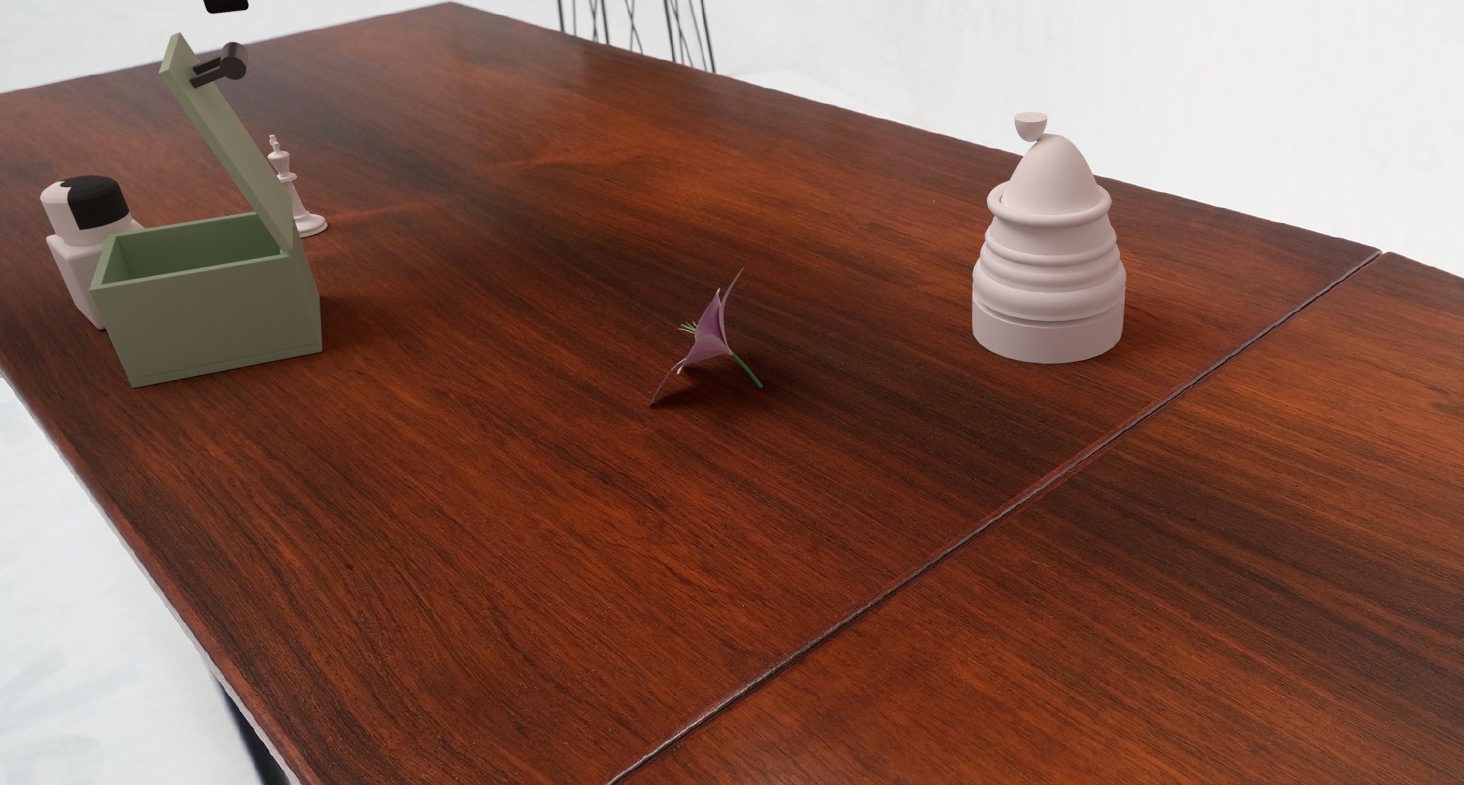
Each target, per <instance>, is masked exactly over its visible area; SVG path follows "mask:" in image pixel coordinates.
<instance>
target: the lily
mask: <svg viewBox="0 0 1464 785" xmlns="http://www.w3.org/2000/svg"><path fill="white" fill-rule="evenodd" d="M745 267H746V266H745V265H744V266H742V269H740V271H739V272H738V273H737V275H736V276H735V278H733V280H732V282H731V284H730V285H729V287H727V290H726V291H725V294H724V296H723V297H722V300H720V295H719V294H720V290H721V288H720V287H719V288H718V289H717V290H716V293H715V295H714V297H713V298H712V300H711V302H709V304H708V305H707V307H706V309H705V310H704V312H703V314H702V315H701V317H700V318H699V320H698V323H697V325H696V321H694V320H691V322H692V323H693V325H694V326H695V327H696V328H694V327H693V326H692V325H691V324H689V323H688V322H687V321H686V320H685V324H686V325H685V324H683V323H681V324H680V326H681V327H683V328H677V329H676V330H678V331H685V332H688V333H690V334H691V333H692V334H694V341H695V342H694V344H693V345H692V347H691V348H690V350H689V352H688V354H687V355H686V357H684V359H681V361H679V362H677V364H675V366H673V367H672V368H671V370H670V371H669V372H668V373H667V374H666V375H665V376H664V378H663V380H662V381H661V383H660V385H659V386H658V388H657V389H656V391H655V393H654V394H653V397H652V398H651V401H650V402H649V404H648V406H649V407H650V406H651V405H652V402H653V401H654V399H655V398H656V395H657V394H658V393H659V391H660V390H661V389H662V387H663V385H664V383H665V382H666V380H667V379H668V378H669V377H670V376H671V374H672V373H673V372H674V371H675V370H676V369H677V368H679V369H678V370H677V371H676V374H677V375H679V374H680V373H681V371H682V369H683V367H685V366H686V365H689V364H692V363H693V364H694V363H696V362H699V361H702V360H706V359H711V358H713V357H717V356H721V355H728V356H730V357H731V358H732V359H733V360H735V361H736V363H738V364H739V365H740V367H741V368H743V369H744V371H745V372H746V373H747V374H748V375H749V377H750V378H751V379H752V380H753V381H754V383H755V384H756V385H757V386H758V388H759V389H762V388H763V387H764V386H763V384H762V383H761V382H760V380H759V379H758V378H757V377H756V375H755V374H754V373H753V371H751V369H750V368H749V367H748V366H747V365H746V364H745V363H744V361H742V359H740V358H739V357H738V356H737V355H736V354H735V353H734V352H733V351H732V350H731V349H730V347H729V346H728V341H727V337H726V331H725V322H724V314H725V306H726V303H727V302H726V301H727V299H728V297H729V294H730V292H731V290H732V289H733V287H734V285H735V283H736V282H737V279H738V278H739V276H740V275H741V273H742V272H743V270H744V268H745ZM687 325H688V326H687ZM684 328H686V329H684ZM679 366H680V367H679Z"/></svg>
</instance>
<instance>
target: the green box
mask: <svg viewBox="0 0 1464 785" xmlns="http://www.w3.org/2000/svg"><path fill="white" fill-rule="evenodd" d="M292 224H293V249H291V250H289V251H287V252H283V251H282V250H281V248H280V247H279V245H278V244H277V242H276V241H275V240H274V238H273V237H272V235H271V234H270V232H269V231H268V230H267V228H266V227H265V225H264V224H263V222H262V221H261V220H260V218H259V217H258V215H257V214H256V212H255V211H249V212H244V213H243V212H242V213H237V214H230V215H223V216H219V217H218V216H217V217H210V218H205V219H199V220H193V221H191V220H190V221H185V222H179V223H174V224H173V223H172V224H167V225H161V226H160V225H159V226H153V227H148V228H145V229H140V230H134V231H128V232H121V233H115V234H108V235H107V237H106V240H105V243H104V246H103V249H102V252H101V255H100V258H99V261H98V264H97V267H96V271H95V274H94V277H93V280H92V283H91V286H90V288H89V292H90V294H91V297H92V299H93V301H94V303H95V306H96V308H97V310H98V312H99V315H100V317H101V319H102V321H103V323H104V326H105V328H106V329H105V330H106V332H107V335H108V337H109V339H110V341H111V343H112V346H113V348H114V350H115V353H116V355H117V357H118V360H119V362H120V364H121V366H122V368H123V370H124V373H125V375H126V377H127V379H128V382H129V384H130V386H131V388H132V389H136V388H142V387H147V386H152V385H156V384H162V383H166V382H171V381H172V382H173V381H177V380H181V379H187V378H192V377H193V378H194V377H198V376H204V375H208V374H213V373H219V372H224V371H229V370H234V369H235V370H236V369H239V368H246V367H249V366H254V365H260V364H265V363H271V362H275V361H281V360H285V359H290V358H295V357H296V358H297V357H301V356H306V355H311V354H316V353H321V352H323V338H322V337H323V336H322V319H321V318H322V317H321V300H320V298H321V297H320V293H319V290H318V287H317V283H316V281H315V277H314V275H313V271H312V268H311V266H310V263H309V259H308V256H307V253H306V250H305V247H304V245H303V241H302V238H300V235H299V232H298V229H297V226H296V223H295V220H294V217H293V214H292Z"/></svg>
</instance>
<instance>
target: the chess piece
mask: <svg viewBox="0 0 1464 785" xmlns="http://www.w3.org/2000/svg"><path fill="white" fill-rule="evenodd" d="M268 136H269V137H268V138H269V141H268V142H269V145H270V146H271V147H272V149H273V151H272V152H271V153H269V154H268V155H267V159H268V161H269V162H270V164H271V165H272V166H273V168H274V169H275V170H276V171H277V173H278V174H276V175H277V177H278V178H279V180H280V181H281V183H282V184H283V186H284V187H285V189H286V190H287V192H288V193H289V195H290V196H291V198H292V214H293V217H294V220H295V223H296V226H297V229H298V232H299V235H300V238H301V239H302V238H308V237H310V236H314V235H317V234H320V233H322V232H323V231H325V230H326V229H327V228H328V223H327V222H326V218H325V217H324V216H322V215H319V214H315V213H310V211H309V210H306V208H305V207H304V204H303V202H302V200H301V198H300V196H299V194H298V191H297V189H296V188H295V187H296V186H295V185H294V183H293V181H294V180H297V178H298V176H297V174H296V173H294V172H290V153H289V152H288V151H286V150H280V148H281V145H280V143H279V142H278V141H277V137H276V135H275V134H270V135H268Z"/></svg>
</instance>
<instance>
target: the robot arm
mask: <svg viewBox="0 0 1464 785" xmlns="http://www.w3.org/2000/svg"><path fill="white" fill-rule="evenodd" d="M202 1H203V5H204V7H205V10H206V12H207V13H208V14H210V15H215V14H216V15H217V14H226V13H233V12H241V11H242V12H243V11H247V10H249V6H250V4H249V1H248V0H202Z"/></svg>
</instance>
